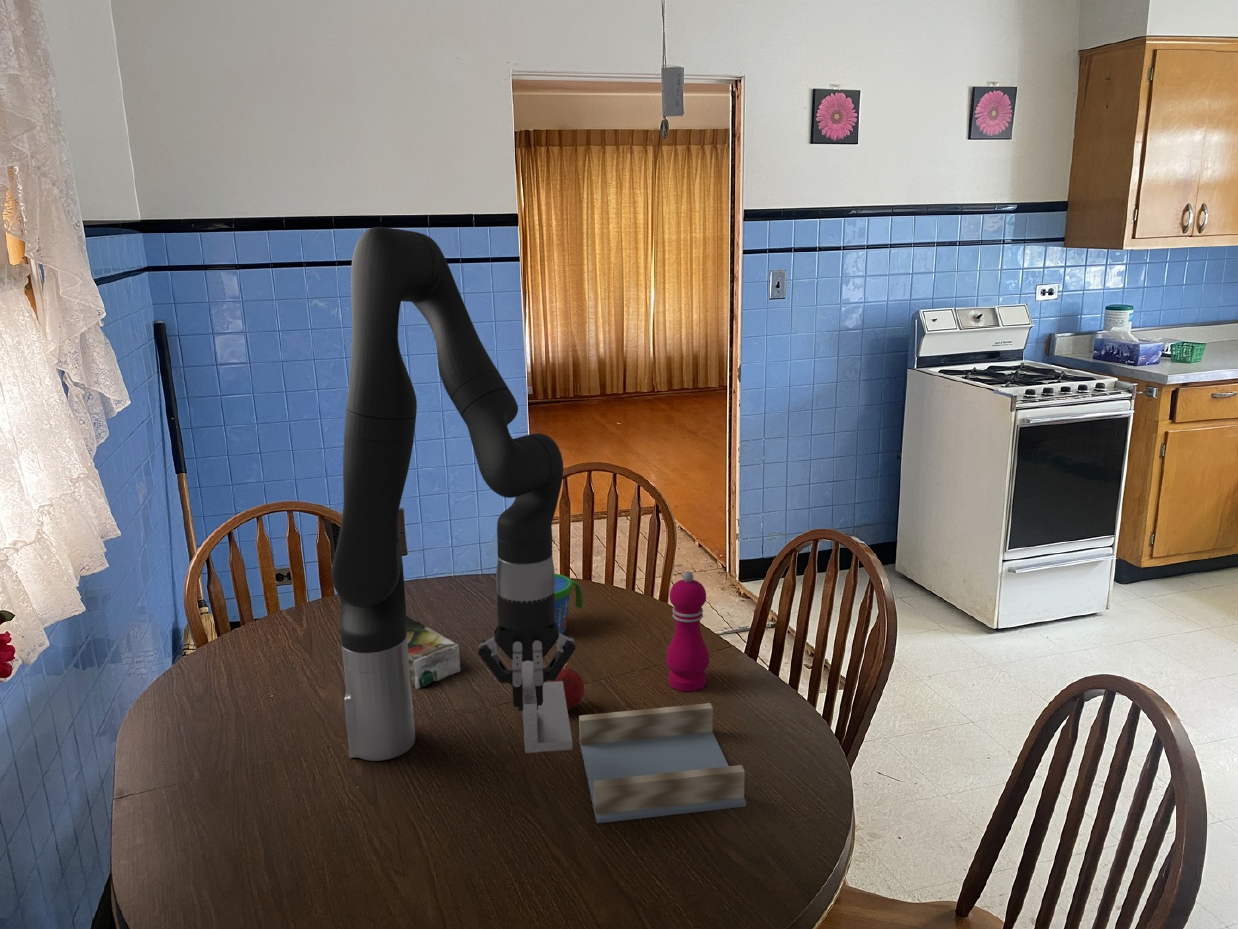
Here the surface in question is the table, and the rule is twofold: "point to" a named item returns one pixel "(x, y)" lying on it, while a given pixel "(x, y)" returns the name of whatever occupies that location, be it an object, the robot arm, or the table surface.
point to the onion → (571, 685)
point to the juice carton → (429, 654)
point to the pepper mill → (687, 636)
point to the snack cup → (565, 600)
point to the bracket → (544, 715)
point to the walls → (666, 785)
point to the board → (655, 768)
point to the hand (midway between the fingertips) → (528, 707)
